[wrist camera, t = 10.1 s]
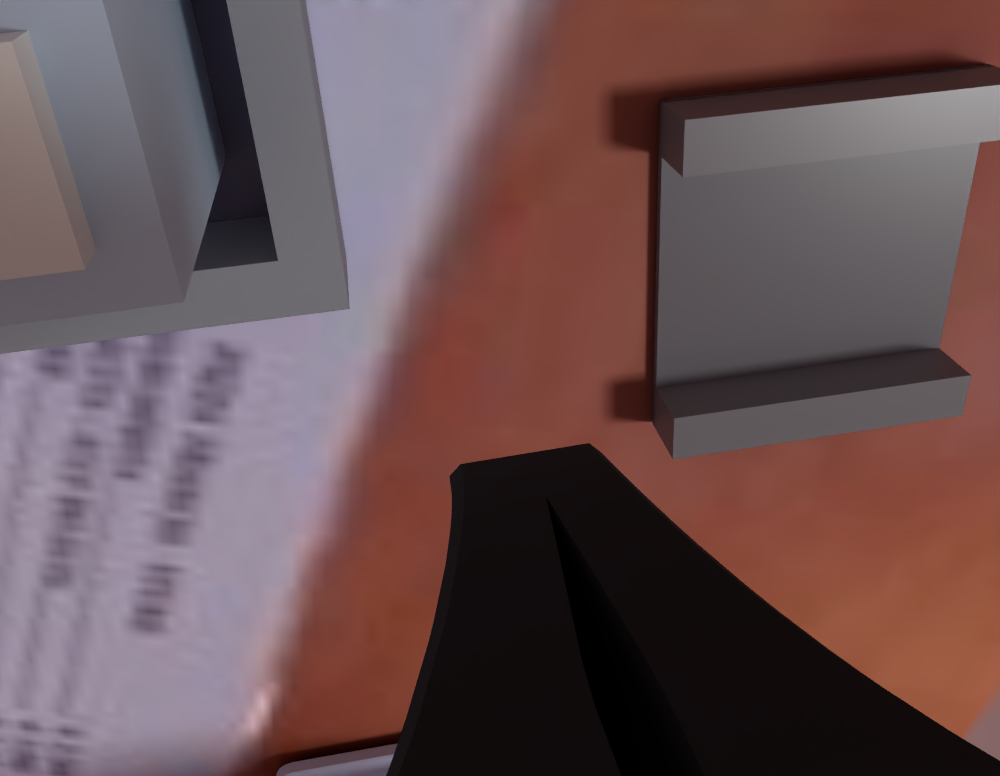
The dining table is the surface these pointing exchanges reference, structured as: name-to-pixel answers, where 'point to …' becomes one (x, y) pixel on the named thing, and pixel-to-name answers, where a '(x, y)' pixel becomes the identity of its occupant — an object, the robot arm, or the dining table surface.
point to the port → (257, 240)
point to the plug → (102, 155)
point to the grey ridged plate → (812, 256)
